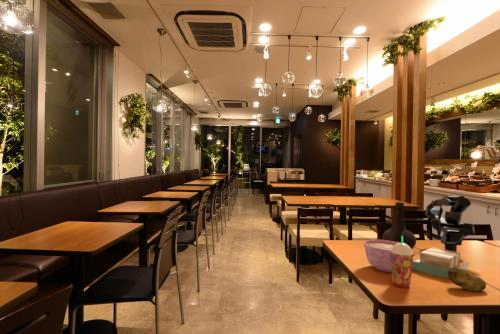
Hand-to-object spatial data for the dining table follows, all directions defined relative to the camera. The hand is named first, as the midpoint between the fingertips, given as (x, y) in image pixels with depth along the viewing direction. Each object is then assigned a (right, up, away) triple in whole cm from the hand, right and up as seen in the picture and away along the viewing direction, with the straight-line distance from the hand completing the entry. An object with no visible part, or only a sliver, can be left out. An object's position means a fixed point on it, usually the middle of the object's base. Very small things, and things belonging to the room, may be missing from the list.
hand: (448, 239), depth 157 cm
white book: (-11, -12, -11) cm, 20 cm away
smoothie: (-40, -11, -32) cm, 53 cm away
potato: (-15, -12, -35) cm, 40 cm away
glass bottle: (-15, -12, +21) cm, 29 cm away
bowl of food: (-38, -11, -13) cm, 41 cm away
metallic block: (-12, -12, -12) cm, 21 cm away
